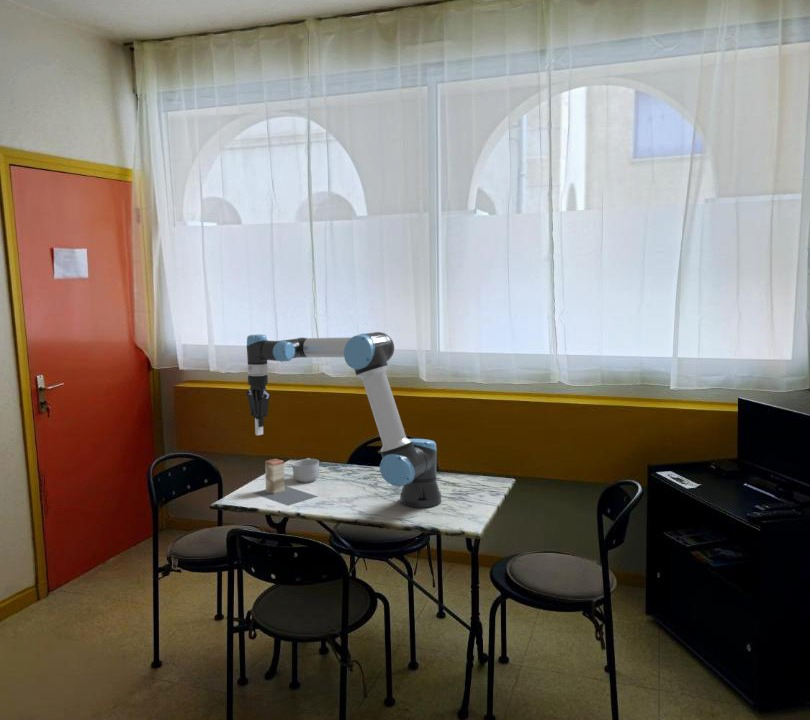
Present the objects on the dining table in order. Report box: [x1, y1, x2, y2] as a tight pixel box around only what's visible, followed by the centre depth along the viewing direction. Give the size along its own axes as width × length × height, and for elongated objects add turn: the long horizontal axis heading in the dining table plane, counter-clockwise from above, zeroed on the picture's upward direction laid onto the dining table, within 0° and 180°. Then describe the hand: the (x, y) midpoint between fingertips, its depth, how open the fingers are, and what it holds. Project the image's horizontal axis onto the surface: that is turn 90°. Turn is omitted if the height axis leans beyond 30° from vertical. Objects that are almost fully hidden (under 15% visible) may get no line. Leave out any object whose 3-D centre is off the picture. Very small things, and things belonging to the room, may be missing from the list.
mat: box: [252, 485, 319, 506], centre depth 258 cm, size 22×14×1 cm, turn 47°
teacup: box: [291, 457, 320, 484], centre depth 278 cm, size 14×11×8 cm
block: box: [264, 458, 285, 494], centre depth 261 cm, size 5×5×12 cm
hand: (259, 434), depth 265 cm, fingers closed
